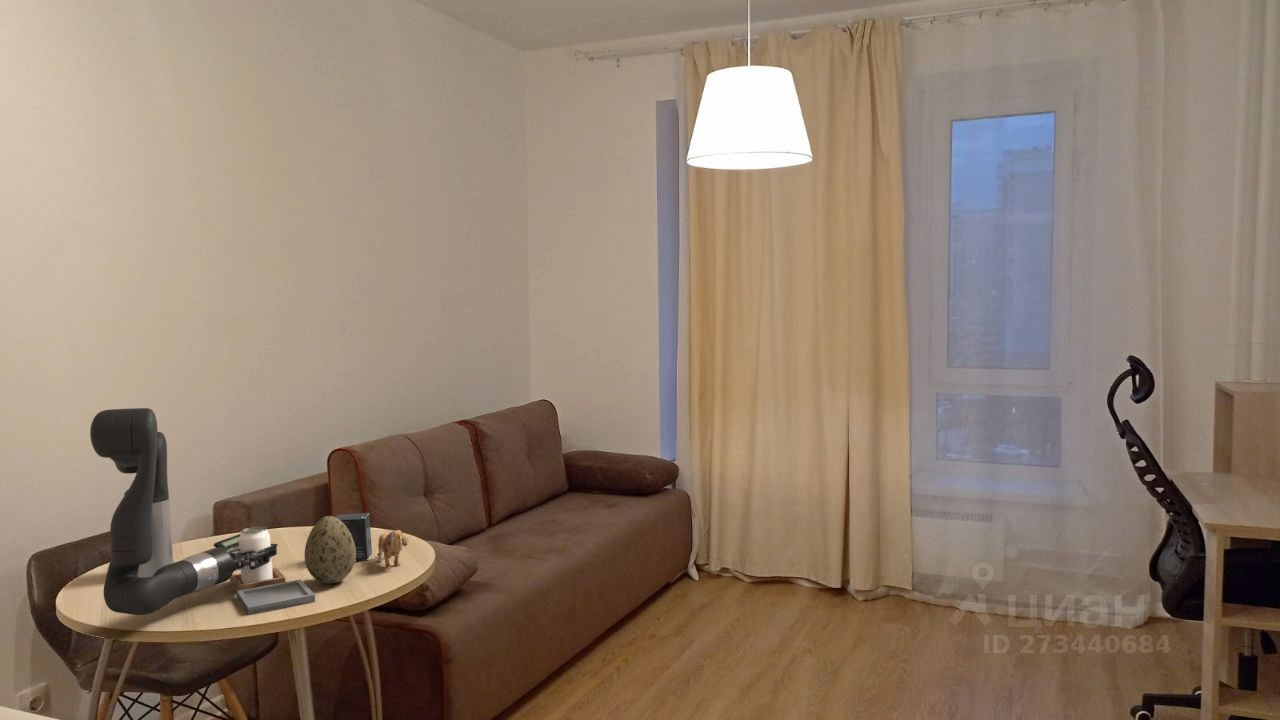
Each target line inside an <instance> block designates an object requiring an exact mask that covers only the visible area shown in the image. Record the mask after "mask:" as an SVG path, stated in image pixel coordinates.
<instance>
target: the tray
mask: <svg viewBox="0 0 1280 720" xmlns="http://www.w3.org/2000/svg"><path fill="white" fill-rule="evenodd" d="M236 594H237V596H236V597H237V600H238V601H239V602H240V603H241V606H242V607H243V609H244V610H245V611H246V613H247V615H248V616H250V615H255V614H259V613H265V612H270V611H275V610H279V609H280V610H281V609H286V608H290V607H296V606H299V605H300V606H301V605H305V604H310V603H311V604H312V603H315V602H316V594H315V593H314V592H313V591H312V590H311V589H310V588H309V587H308V585H306V584H305V583H304V581H302V579H296V580H289V581H285V582H284V583H278V584H273V585H267V586H262V587H256V588H251V589H246V590H240V591H237V592H236Z"/></svg>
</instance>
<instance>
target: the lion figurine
mask: <svg viewBox="0 0 1280 720" xmlns="http://www.w3.org/2000/svg"><path fill="white" fill-rule="evenodd" d="M409 541H410V538H408V537H406V536H405V535H404V534H402V530H400V529H399V530H394V531H391V532H390V533H387V532H383V533H382V534H381V535H380V536H379V538H378V545H377V546H378V553H377V556H378V559H377V561H378V562H380V563H383V557H384V564H385V565H384V569H385V568H389V567H390V568H391V564H390V558H389V557H391V558H392V557H394V560H393V564H394V566H395V565H396V566H395V567H399V566H398V565H400V566H401V565H402V564H401V563H399V556H400V553H401V552H402V550H403V547H406V548H407V546H408V544H409ZM378 562H377V563H378ZM390 568H389V569H390Z"/></svg>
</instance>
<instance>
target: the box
mask: <svg viewBox="0 0 1280 720" xmlns="http://www.w3.org/2000/svg"><path fill="white" fill-rule="evenodd" d="M335 517H336V518H338V519H339V520H340V521H342V522H343V523H344V524H345V526H346V527H347V528H348V530H349V531H350V533H351V535H352V538H353V540H354V543H355V548H356V559H355V560H364V561H368V560H369V559H370V558H369V556H370V555H371V554H372V553H373V552H372V551H373V549H372V548H373V547H372V534H371V532H372V531H371V518H370V512H365V513H348V514H337V515H336V516H335ZM371 556H372V555H371ZM371 556H370V557H371ZM368 558H369V559H368ZM367 559H368V560H367Z"/></svg>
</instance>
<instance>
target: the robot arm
mask: <svg viewBox="0 0 1280 720" xmlns="http://www.w3.org/2000/svg"><path fill="white" fill-rule="evenodd" d="M158 430H159V429H158V421H157V417H156V414H155V412H154V411H153V410H152V408H148V407H147V408H146V407H143V408H142V407H138V408H137V407H135V408H115V409H105V410H102V411H99V412H97V414H96V415H95V416H94V418H93V419H92V421H91V424H90V430H89V431H90V433H89V438H90V443H91V446H92V448H93V450H94V452H95V453H96V454H97V455H98V456H99V457H101V458H103V459H105V458H108V459H110V460H112V461H113V462H114V464H115V467H116V469H117V470H118V471H119V472H120V473H122V474H129V475H132V474H135V476H134V479H133V481H132V483H131V484H130V486H129V488H128V489H127V490H126V491H125V492H124V493H123V497H122V499H121V500H120V502H119V503H118V505H117V506H116V508H115V511H114V512H113V515H112V518H111V522H110V528H109V529H110V553H111V557H110V561H109V564H108V568H107V572H106V577H105V580H104V586H103V599H104V602H105V605H106V606H107V608H108V609H109V610H110V611H112V612H115V613H118V614H127V615H132V616H145V615H150V614H153V613H155V612H157V611H160V610H162V608H164V607H166V606H168V605H169V604H170V603H172V602H173V601H174V600H176V599H179V598H181V597H184V596H187V595H190V594H193V593H197V592H200V591H203V590H207V589H209V588H212V587H214V586H217V585H220V584H223V583H225V582H227V581H230V577H231V576H232V575H234V572H236V571H241V569H243V568H246V567H250V570H254V569H256V568H258V567H260V566H262V565H264V564H266V563H268V562H269V558H270V557H271V558H273V557H275V556H277V554H278V549H277V547H278V546H274V545H272V546H270V547H267V548H264V549H260V550H256V551H253V550H251V549H250V550H246V551H241V552H240V551H239V547H235V548H232V547H227V548H216V547H214V548H210V549H207V550H204V551H202V552H199V553H198V552H197V553H196V554H192V555H189V556H187V557H184V558H183V559H181V560H178V561H175V562H174V552H173V539H172V521H171V520H172V519H171V509H170V508H171V507H170V494H169V493H170V492H169V483H168V482H169V481H168V444H167V440H166V439H167V438H166V436H165V435H164V433H163V432H160V431H158ZM247 554H249V560H248V556H247ZM255 554H257V555H255Z"/></svg>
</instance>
